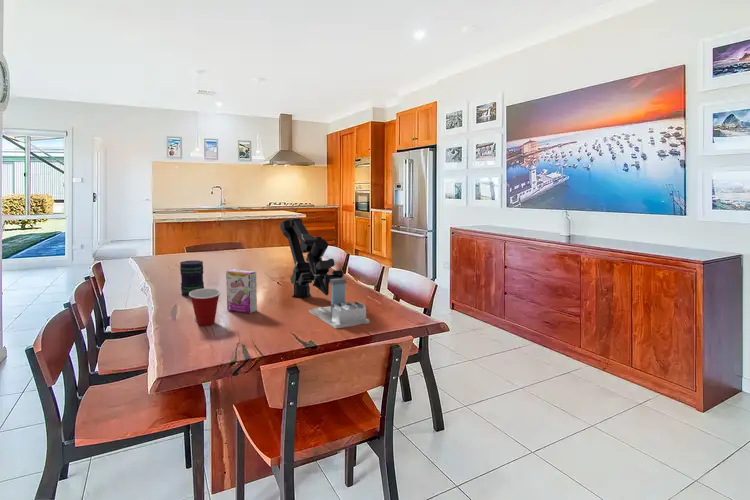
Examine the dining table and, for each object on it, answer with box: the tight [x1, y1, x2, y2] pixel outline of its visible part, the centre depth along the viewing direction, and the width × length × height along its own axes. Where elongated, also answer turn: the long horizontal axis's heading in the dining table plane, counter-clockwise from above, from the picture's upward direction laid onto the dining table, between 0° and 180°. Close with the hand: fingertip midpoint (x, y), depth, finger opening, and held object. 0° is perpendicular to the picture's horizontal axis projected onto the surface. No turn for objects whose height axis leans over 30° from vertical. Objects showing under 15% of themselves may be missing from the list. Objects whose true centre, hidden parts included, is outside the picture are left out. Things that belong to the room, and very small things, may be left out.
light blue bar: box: [329, 277, 347, 306], centre depth 167 cm, size 8×6×14 cm
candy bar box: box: [225, 268, 258, 314], centre depth 175 cm, size 11×5×16 cm, turn 71°
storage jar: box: [179, 259, 205, 298], centre depth 201 cm, size 10×10×15 cm
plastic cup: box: [189, 287, 222, 327], centre depth 158 cm, size 11×11×12 cm
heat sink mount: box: [308, 300, 370, 329], centre depth 169 cm, size 24×14×7 cm, turn 32°
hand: (327, 294), depth 177 cm, fingers closed
